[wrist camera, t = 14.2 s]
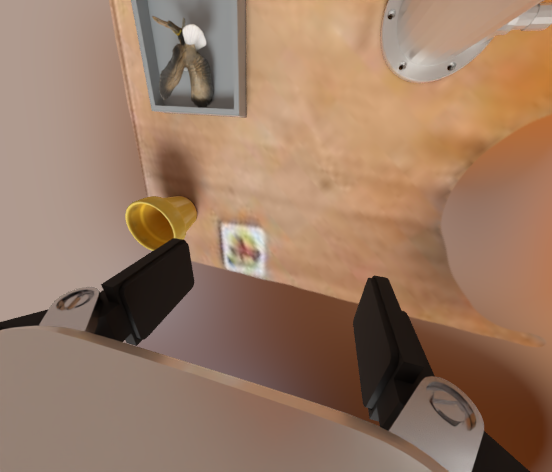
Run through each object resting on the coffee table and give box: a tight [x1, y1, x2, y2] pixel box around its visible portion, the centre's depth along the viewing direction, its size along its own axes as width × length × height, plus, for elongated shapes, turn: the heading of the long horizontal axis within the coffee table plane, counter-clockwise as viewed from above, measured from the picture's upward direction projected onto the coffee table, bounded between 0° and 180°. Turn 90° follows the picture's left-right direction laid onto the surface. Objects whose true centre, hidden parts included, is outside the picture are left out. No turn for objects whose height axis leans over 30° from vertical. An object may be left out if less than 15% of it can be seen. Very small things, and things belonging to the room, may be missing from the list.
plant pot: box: [125, 196, 197, 251], centre depth 40 cm, size 10×10×10 cm
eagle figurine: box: [152, 16, 213, 108], centre depth 29 cm, size 8×7×9 cm
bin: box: [131, 0, 246, 117], centre depth 29 cm, size 16×17×3 cm
